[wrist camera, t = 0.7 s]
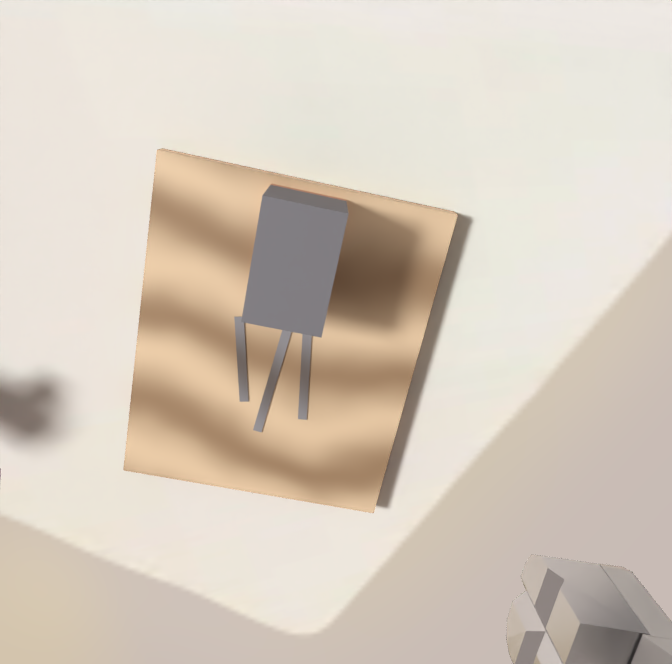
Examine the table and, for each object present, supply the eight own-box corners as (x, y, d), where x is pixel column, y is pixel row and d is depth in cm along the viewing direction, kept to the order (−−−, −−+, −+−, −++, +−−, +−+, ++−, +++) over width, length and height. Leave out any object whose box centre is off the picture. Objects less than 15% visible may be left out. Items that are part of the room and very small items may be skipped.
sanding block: (271, 183, 35) (262, 195, 31) (346, 199, 36) (348, 213, 31) (252, 295, 38) (241, 321, 33) (322, 309, 38) (321, 337, 33)
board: (162, 148, 36) (156, 149, 35) (454, 211, 37) (458, 215, 36) (128, 460, 43) (123, 470, 42) (372, 503, 45) (373, 513, 44)
